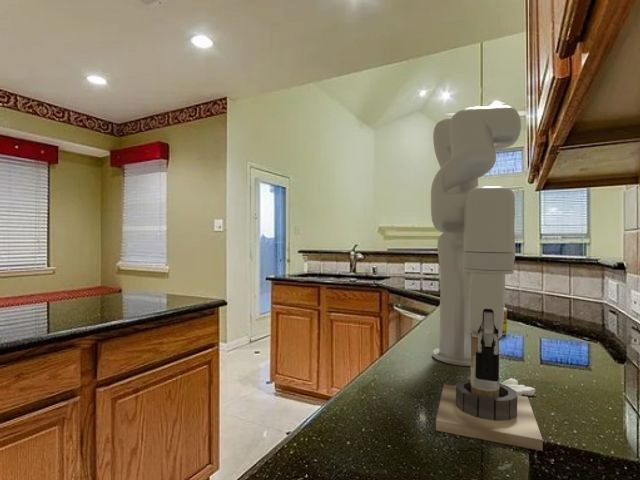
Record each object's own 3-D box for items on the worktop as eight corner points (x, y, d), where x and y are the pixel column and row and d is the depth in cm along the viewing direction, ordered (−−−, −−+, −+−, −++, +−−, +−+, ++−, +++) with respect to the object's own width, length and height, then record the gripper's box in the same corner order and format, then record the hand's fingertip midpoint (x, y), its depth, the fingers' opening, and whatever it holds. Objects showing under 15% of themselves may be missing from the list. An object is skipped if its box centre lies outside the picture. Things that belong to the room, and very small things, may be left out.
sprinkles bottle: (476, 399, 66) (476, 320, 66) (504, 406, 63) (504, 324, 63) (465, 407, 63) (465, 324, 63) (494, 415, 59) (494, 328, 60)
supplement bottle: (496, 336, 118) (497, 302, 118) (483, 331, 124) (483, 300, 124) (510, 334, 120) (511, 302, 120) (497, 330, 125) (497, 299, 126)
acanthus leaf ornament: (513, 385, 79) (513, 375, 79) (540, 398, 72) (540, 388, 72) (481, 387, 77) (482, 377, 77) (506, 401, 70) (506, 391, 70)
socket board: (443, 392, 73) (444, 368, 73) (527, 405, 67) (527, 379, 67) (435, 430, 58) (436, 400, 58) (542, 451, 52) (543, 417, 53)
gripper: (464, 260, 72) (462, 353, 72) (461, 265, 56) (459, 385, 56) (509, 262, 69) (507, 358, 69) (519, 267, 53) (517, 393, 53)
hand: (486, 370), depth 63 cm, fingers open, 8 cm apart
